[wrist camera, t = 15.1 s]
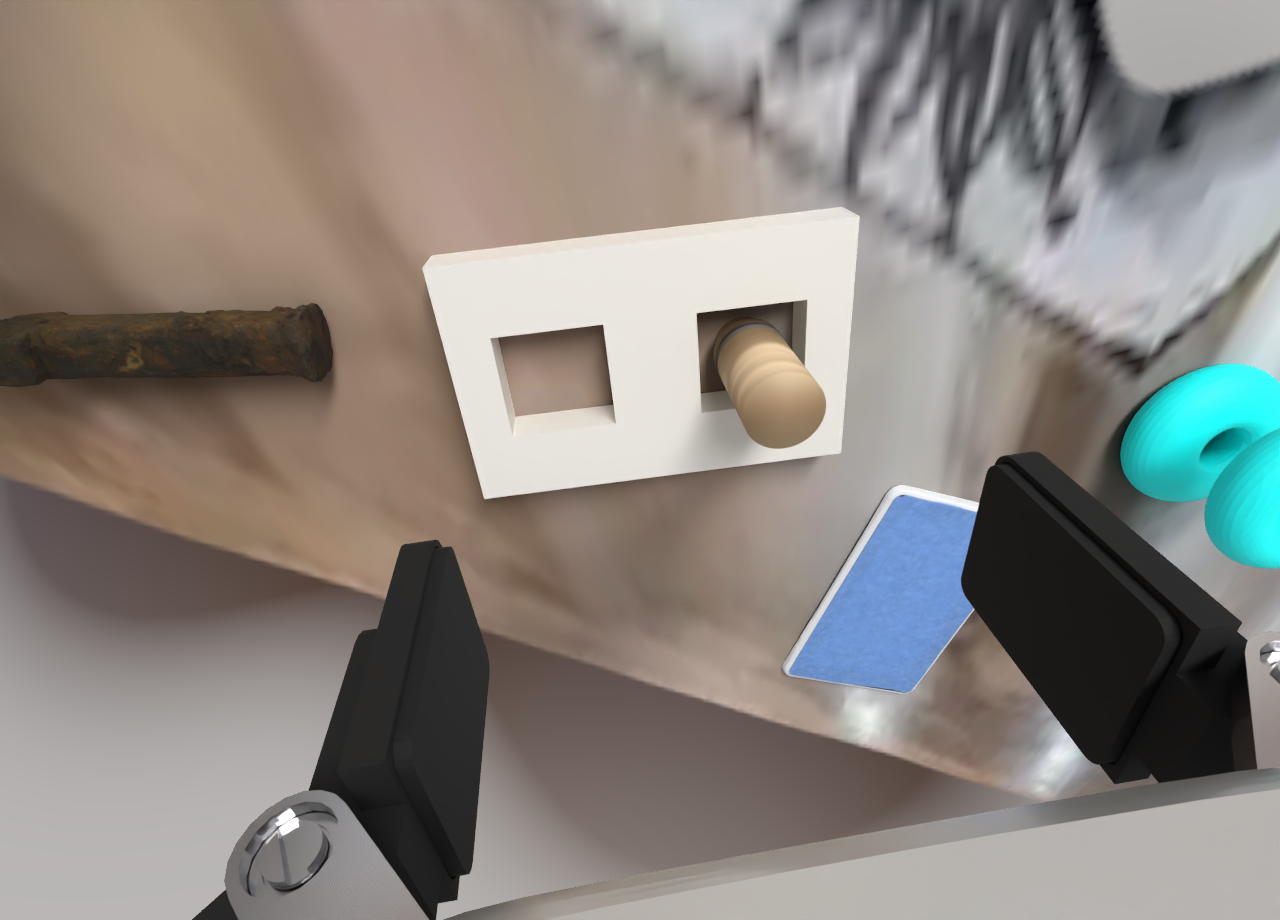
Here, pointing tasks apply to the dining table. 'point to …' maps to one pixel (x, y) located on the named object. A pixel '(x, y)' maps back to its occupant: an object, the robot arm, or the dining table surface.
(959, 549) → the tablet computer
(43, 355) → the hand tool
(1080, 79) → the dining table surface
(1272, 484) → the donuts
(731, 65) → the dining table surface
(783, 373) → the oak peg
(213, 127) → the dining table surface
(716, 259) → the hole board
